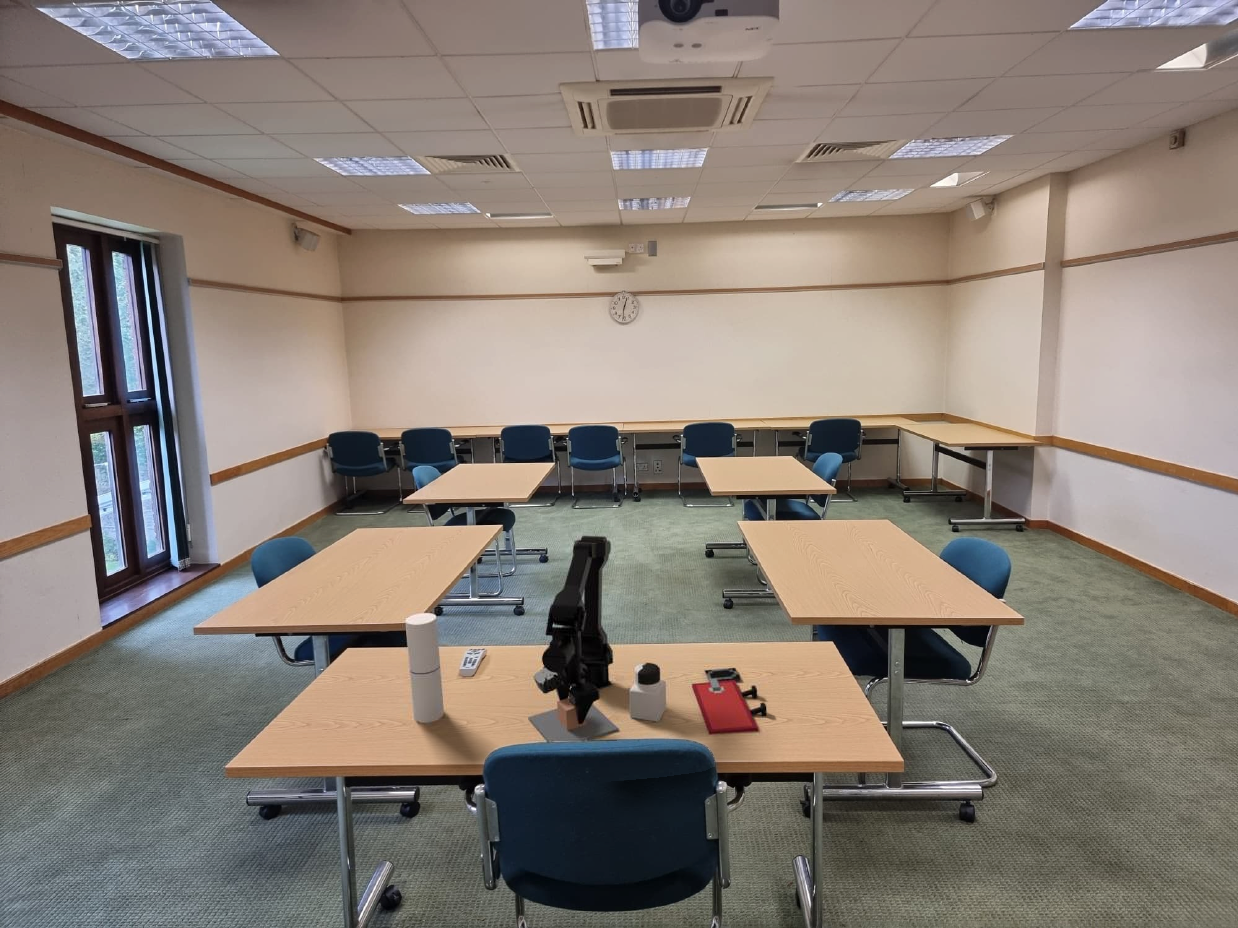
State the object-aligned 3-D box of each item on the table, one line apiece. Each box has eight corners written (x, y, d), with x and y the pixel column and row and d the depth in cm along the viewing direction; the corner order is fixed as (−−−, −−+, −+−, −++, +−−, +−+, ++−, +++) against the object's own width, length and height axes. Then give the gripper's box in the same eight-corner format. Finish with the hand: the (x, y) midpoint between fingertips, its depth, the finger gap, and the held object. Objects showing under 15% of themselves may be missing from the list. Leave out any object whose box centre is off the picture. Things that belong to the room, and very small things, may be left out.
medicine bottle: (666, 707, 172) (665, 661, 170) (658, 722, 166) (657, 674, 164) (638, 703, 175) (637, 658, 173) (629, 717, 168) (628, 671, 166)
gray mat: (587, 700, 177) (587, 699, 177) (618, 730, 163) (618, 728, 163) (528, 719, 169) (528, 717, 169) (555, 751, 155) (555, 749, 155)
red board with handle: (742, 670, 191) (687, 674, 190) (741, 660, 190) (686, 665, 189) (774, 731, 161) (709, 737, 160) (773, 720, 161) (709, 726, 160)
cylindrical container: (417, 725, 168) (408, 626, 163) (411, 712, 174) (402, 616, 170) (447, 717, 171) (439, 620, 167) (440, 704, 177) (432, 610, 173)
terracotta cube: (577, 714, 169) (576, 695, 168) (586, 724, 165) (585, 704, 164) (558, 720, 167) (557, 701, 166) (567, 730, 163) (566, 710, 162)
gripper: (521, 646, 167) (525, 707, 170) (553, 677, 151) (557, 743, 154) (564, 635, 172) (567, 694, 175) (599, 664, 156) (602, 729, 159)
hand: (572, 714), depth 166 cm, fingers open, 9 cm apart
